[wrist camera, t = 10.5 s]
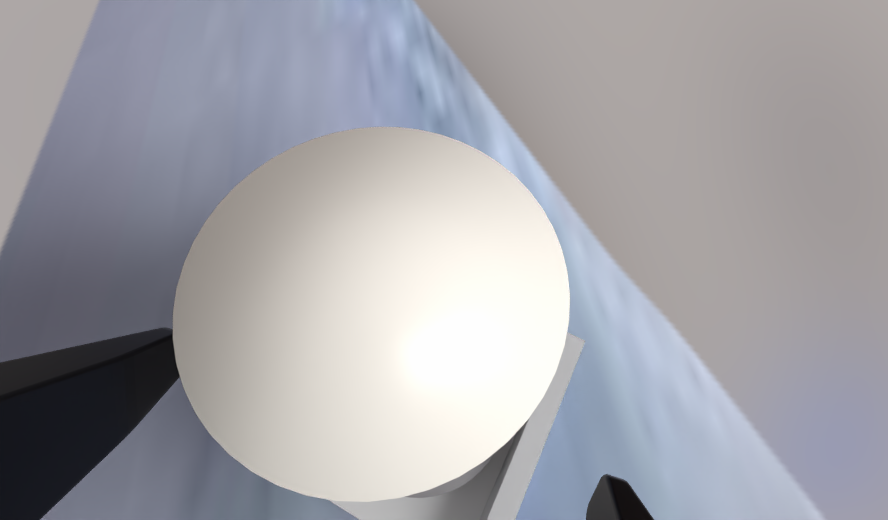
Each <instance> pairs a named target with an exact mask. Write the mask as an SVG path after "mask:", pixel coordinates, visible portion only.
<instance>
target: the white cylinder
mask: <svg viewBox="0 0 888 520" xmlns="http://www.w3.org/2000/svg"><path fill="white" fill-rule="evenodd" d="M569 306H570V292H569V283H568V273H567V268H566V264H565V260H564V256H563V252H562V249H561V246H560V243H559V241H558V238H557V236H556V233H555V231H554V228H553V226H552V225H551V223H550V221H549V219H548V218H547V216H546V214H545V212H544V210H543V209H542V207H541V206H540V205H539V203H538V202H537V201H536V199H535V198H534V197H533V195H532V194H531V192H530V191H529V190H528V189H527V188H526V187H525V186H524V185H523V184H522V183H521V182H520V181H519V180H518V179H517V178H516V177H515V176H514V175H513V174H512V173H511V172H509V171H508V170H507V169H506V168H505V167H503V166H502V165H501V164H500V163H498V162H497V161H495V160H494V159H492V158H491V157H489V156H487V155H486V154H484V153H483V152H481V151H479V150H477V149H475V148H473V147H471V146H469V145H467V144H465V143H463V142H460V141H458V140H455V139H452V138H449V137H446V136H443V135H440V134H436V133H432V132H427V131H423V130H417V129H409V128H401V127H370V128H358V129H352V130H346V131H341V132H336V133H332V134H328V135H325V136H322V137H318V138H315V139H312V140H309V141H307V142H305V143H302V144H300V145H297V146H295V147H292V148H291V149H289V150H287V151H285V152H283V153H281V154H279V155H277V156H276V157H274V158H272V159H270V160H269V161H268V162H266V163H265V164H263V165H262V166H260V167H259V168H257V169H256V170H254V171H253V172H252V173H250V174H249V175H248V176H247V177H246V178H245V179H243V180H242V181H241V182H240V183H239V184H237V185H236V186H235V187H234V188H233V189H232V190H231V191H230V192H229V194H228V195H227V196H226V197H225V198H224V199H223V200H222V201H221V202H220V203H219V204H218V206H217V207H216V208H215V210H214V211H213V212H212V214H211V215H210V216H209V218H208V219H207V220H206V221H205V223H204V225H203V226H202V228H201V230H200V232H199V233H198V235H197V237H196V238H195V240H194V242H193V244H192V246H191V248H190V251H189V253H188V255H187V258H186V260H185V262H184V265H183V268H182V271H181V275H180V278H179V282H178V285H177V289H176V296H175V302H174V309H173V344H174V351H175V358H176V364H177V368H178V371H179V375H180V378H181V381H182V385H183V388H184V390H185V392H186V395H187V397H188V399H189V401H190V403H191V405H192V407H193V409H194V411H195V413H196V415H197V416H198V417H199V419H200V420H201V422H202V423H203V425H204V426H205V428H206V429H207V431H208V432H209V434H210V435H211V436H212V437H213V438H214V439H215V440H216V441H217V442H218V443H219V444H220V445H221V446H222V447H223V449H224V450H225V451H226V452H227V453H228V454H229V455H230V456H232V457H233V458H234V459H236V460H237V461H238V462H240V463H241V464H242V465H244V466H245V467H246V468H248V469H249V470H250V471H252V472H253V473H255V474H257V475H259V476H261V477H262V478H264V479H266V480H268V481H270V482H272V483H274V484H276V485H278V486H280V487H283V488H286V489H289V490H292V491H295V492H297V493H300V494H303V495H306V496H311V497H317V498H322V499H328V500H334V501H353V502H371V501H379V500H387V499H396V498H401V497H409V498H425V497H433V496H438V495H441V494H445V493H448V492H450V491H453V490H455V489H457V488H459V487H461V486H462V485H464V484H466V483H467V482H469V481H470V480H471V479H473V478H474V477H475V476H476V475H477V474H479V473H480V472H481V470H482V469H483V468H484V467H485V466H486V465H487V464H488V463H489V461H490V460H491V458H492V457H493V455H494V454H495V452H496V451H497V450H499V449H500V448H501V447H502V446H503V445H505V444H506V443H507V442H508V441H509V440H510V439H511V438H512V437H513V436H514V434H515V433H516V432H517V431H518V430H519V429H520V428H521V427H522V426H523V425H524V423H525V422H526V421H527V420H528V419H529V417H530V416H531V414H532V413H533V411H534V410H535V409H536V407H537V406H538V404H539V403H540V401H541V400H542V398H543V397H544V395H545V393H546V391H547V389H548V387H549V385H550V383H551V381H552V379H553V377H554V375H555V373H556V370H557V367H558V364H559V361H560V358H561V355H562V352H563V349H564V346H565V340H566V335H567V329H568V323H569Z"/></svg>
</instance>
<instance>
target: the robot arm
mask: <svg viewBox="0 0 888 520" xmlns="http://www.w3.org/2000/svg"><path fill="white" fill-rule="evenodd" d="M179 377H180V375H179V371H178V368H177V364H176V358H175V351H174V344H173V329H170V328H159V329H154V330H149V331H145V332H140V333H135V334H131V335H126V336H122V337H117V338H112V339H108V340H103V341H98V342H94V343H89V344H85V345H80V346H75V347H71V348H66V349H61V350H57V351H52V352H48V353H43V354H38V355H34V356H29V357H24V358H20V359H15V360H11V361H6V362H1V363H0V520H40V519H41V518H42V517H43V516H44V515H45V514H46V513H47V512H48V511H49V510H50V509H51V508H53V507H54V506H55V505H56V504H57V503H58V502H59V501H60V500H61V499H62V498H63V497H64V496H65V495H66V494H67V493H68V492H69V491H70V490H71V489H72V488H73V487H74V486H76V485H77V484H78V483H79V482H80V481H81V480H82V479H83V478H84V477H85V476H86V475H87V474H88V473H89V472H90V471H91V470H92V469H93V468H94V467H95V466H96V465H97V464H99V463H100V462H101V461H102V460H103V459H104V458H105V457H106V456H107V455H108V454H109V453H110V452H111V451H112V450H113V449H114V448H115V447H116V446H117V445H118V444H119V443H120V442H121V441H122V440H123V439H124V438H125V437H126V436H127V435H128V434H129V433H130V432H131V431H132V430H133V429H134V428H135V427H136V426H137V425H138V424H139V423H140V421H141V420H142V419H143V418H144V417H145V416H146V415H147V413H148V412H149V411H150V410H151V409H152V408H153V407H154V405H155V404H156V403H157V402H158V401H159V400H160V399H161V397H162V396H163V395H164V394H165V393H166V392H167V391H168V389H169V388H170V387H171V386H172V385H173V384H174V383H175V381H176V380H177V379H178V378H179ZM586 520H654V519H653V518H652V516H651V515H650V513H649V512H648V510H647V509H646V508H645V506H644V505H643V503H642V502H641V500H640V499H639V498H638V496H637V495H636V493H635V492H634V490H633V489H632V487H631V486H630V485H629V483H628V482H627V481H625V480H623V479H620V478H617V477H614V476H611V475H608V474H606V475H603V476H602V477H601V479H600V481H599V483H598V485H597V487H596V489H595V491H594V493H593V496H592V498H591V500H590V502H589V504H588V508H587V514H586Z"/></svg>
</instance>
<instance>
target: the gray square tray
mask: <svg viewBox="0 0 888 520" xmlns="http://www.w3.org/2000/svg"><path fill="white" fill-rule="evenodd" d="M584 343H585V341H584V340H582V339H580V338H578V337H576V336H574V335H572V334H570V333H568V332H567V335H566V340H565V346H564V349H563V352H562V355H561V358H560V361H559V364H558V367H557V370H556V373H555V375H554V377H553V379H552V381H551V383H550V385H549V387H548V389H547V391H546V393H545V395H544V397H543V398H542V400H541V401H540V403H539V404H538V406H537V407H536V409H535V410H534V411H533V413H532V414H531V416H530V417H529V419H528V420H527V421H526V422H525V423H524V425H523V426H522V427H521V428H520V429H519V430H518V431H517V432H516V433H515V434H514V436H513V437H512V438H511V439H510V440H509V441H508V442H507V443H506V444H505V445H503V446H502V447H501V448H500V449H499V450H497V451H496V452H495V454H494V455H493V457H492V458H491V460H490V461H489V463H488V464H487V465H486V466H485V467H484V468H483V469H482V470H481V472H480V473H479V474H477V475H476V476H475V477H474V478H473V479H471V480H470V481H469V482H467V483H466V484H464V485H462V486H461V487H459V488H457V489H455V490H453V491H450V492H448V493H445V494H441V495H438V496H433V497H425V498H409V497H401V498H396V499H387V500H379V501H371V502H353V501H334V500H329V501H331V502H332V503H334V504H335V505H337V506H339V507H340V508H342V509H343V510H345V511H347V512H348V513H350V514H351V515H353V516H355V517H356V518H358V519H359V520H515V518H516V516H517V513H518V511H519V508H520V506H521V503H522V501H523V498H524V495H525V493H526V490H527V488H528V485H529V483H530V480H531V478H532V475H533V473H534V470H535V468H536V465H537V462H538V460H539V457H540V455H541V452H542V450H543V447H544V445H545V442H546V440H547V437H548V435H549V432H550V429H551V427H552V424H553V422H554V419H555V417H556V414H557V412H558V409H559V407H560V404H561V401H562V399H563V396H564V394H565V391H566V389H567V386H568V384H569V381H570V379H571V376H572V374H573V371H574V368H575V366H576V363H577V361H578V358H579V356H580V353H581V351H582V348H583V346H584ZM327 500H328V499H327Z"/></svg>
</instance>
